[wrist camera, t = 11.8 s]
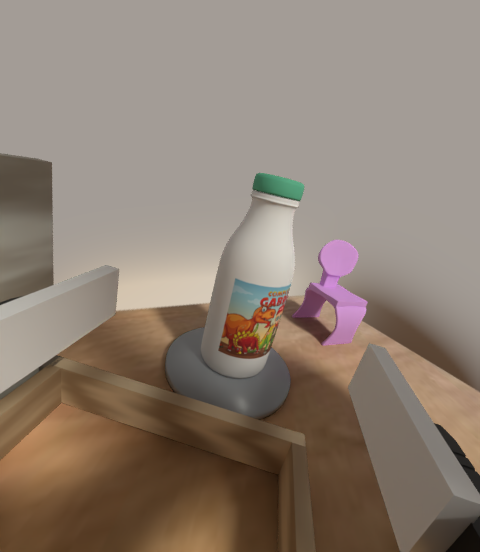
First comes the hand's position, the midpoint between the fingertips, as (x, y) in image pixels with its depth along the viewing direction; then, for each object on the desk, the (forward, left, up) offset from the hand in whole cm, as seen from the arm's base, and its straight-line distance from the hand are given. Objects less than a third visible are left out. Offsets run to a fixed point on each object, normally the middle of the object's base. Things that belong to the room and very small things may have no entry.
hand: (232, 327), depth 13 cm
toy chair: (-13, -29, -13) cm, 34 cm away
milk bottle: (0, -14, -12) cm, 18 cm away
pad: (0, -13, -13) cm, 18 cm away
